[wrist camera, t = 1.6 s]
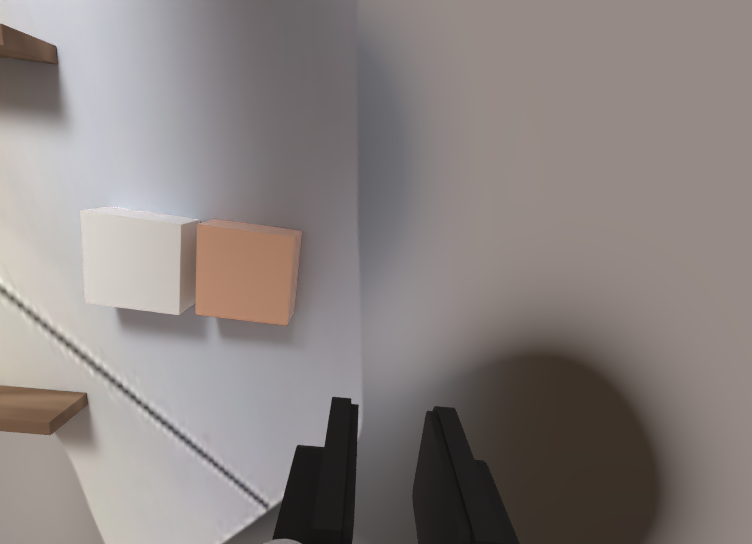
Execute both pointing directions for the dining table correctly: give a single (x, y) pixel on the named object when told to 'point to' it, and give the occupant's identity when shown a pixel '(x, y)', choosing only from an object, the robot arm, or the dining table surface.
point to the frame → (20, 404)
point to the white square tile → (139, 259)
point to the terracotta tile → (246, 271)
